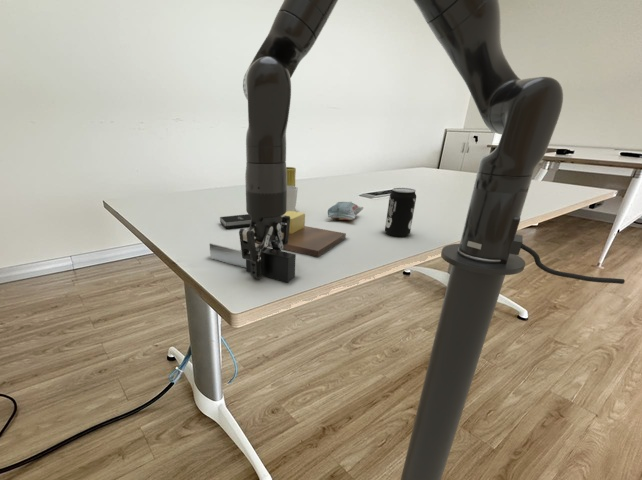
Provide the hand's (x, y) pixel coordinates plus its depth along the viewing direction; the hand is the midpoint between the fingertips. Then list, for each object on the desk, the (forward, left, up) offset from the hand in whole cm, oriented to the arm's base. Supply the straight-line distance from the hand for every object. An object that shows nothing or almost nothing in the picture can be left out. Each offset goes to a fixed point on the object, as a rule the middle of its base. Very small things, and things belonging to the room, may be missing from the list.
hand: (266, 271), depth 69 cm
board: (+4, -22, 0) cm, 22 cm away
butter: (+9, -25, +1) cm, 27 cm away
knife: (+4, 0, 0) cm, 4 cm away
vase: (+23, -46, -1) cm, 52 cm away
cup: (+18, -36, -1) cm, 40 cm away
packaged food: (+3, -49, -1) cm, 49 cm away
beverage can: (-15, -42, -1) cm, 44 cm away
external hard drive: (+26, -25, -1) cm, 36 cm away
